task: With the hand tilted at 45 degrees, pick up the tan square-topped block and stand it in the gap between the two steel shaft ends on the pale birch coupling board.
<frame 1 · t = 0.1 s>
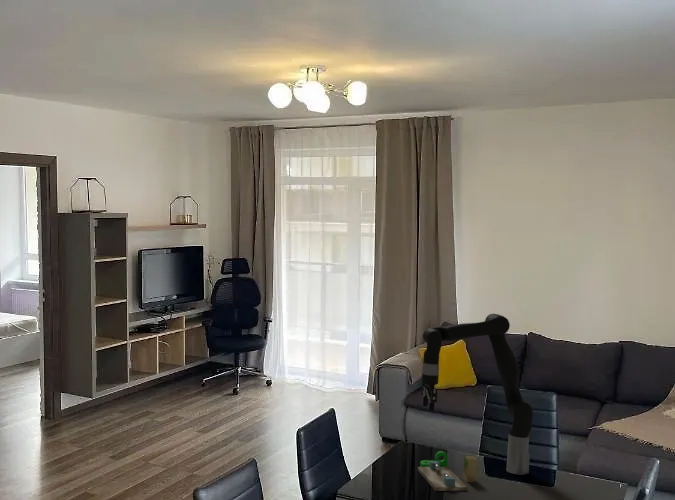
hand: (428, 408, 306), 29 cm above the table, tool pointing down, fingers open, 8 cm apart
tan square-topped block: (469, 480, 300), on the table
mechanical part: (433, 467, 315), on the table
coupling board: (441, 479, 298), on the table
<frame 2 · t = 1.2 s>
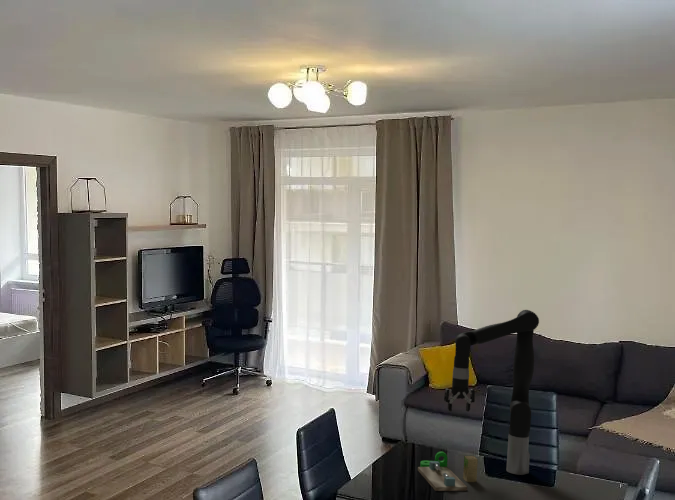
hand: (458, 411, 317), 26 cm above the table, tool pointing down, fingers open, 8 cm apart
nothing on the table moved.
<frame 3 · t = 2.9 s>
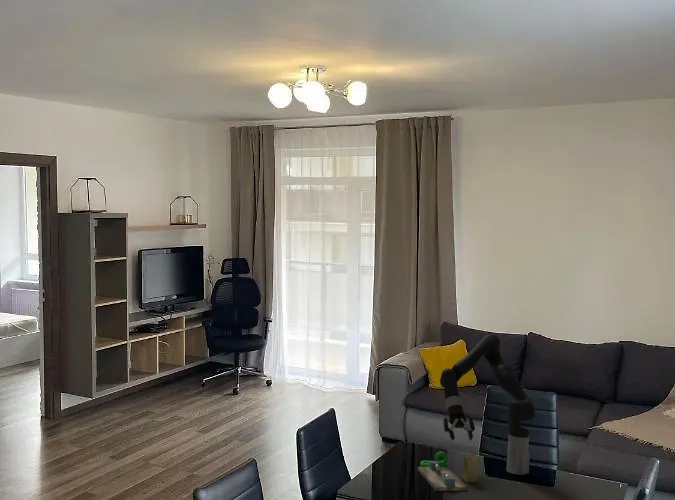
hand: (462, 439, 311), 15 cm above the table, tool tilted 45°, fingers open, 8 cm apart
nothing on the table moved.
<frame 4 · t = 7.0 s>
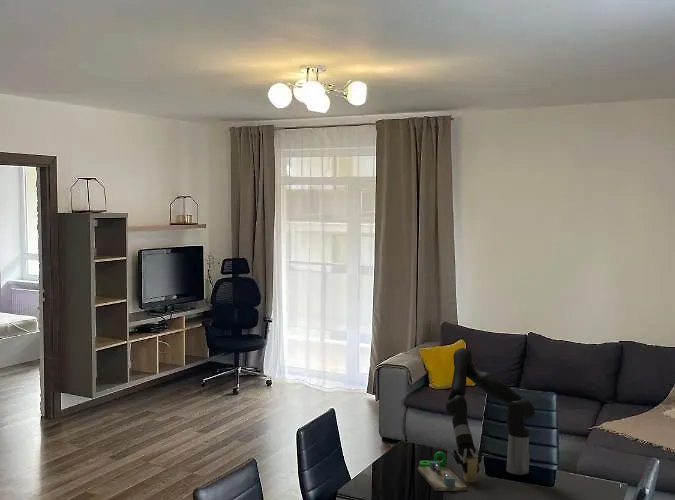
hand: (471, 472, 298), 4 cm above the table, tool tilted 45°, fingers closed on tan square-topped block, 4 cm apart
tan square-topped block: (469, 480, 300), on the table, touching gripper
mechanical part: (432, 467, 315), on the table, touching coupling board
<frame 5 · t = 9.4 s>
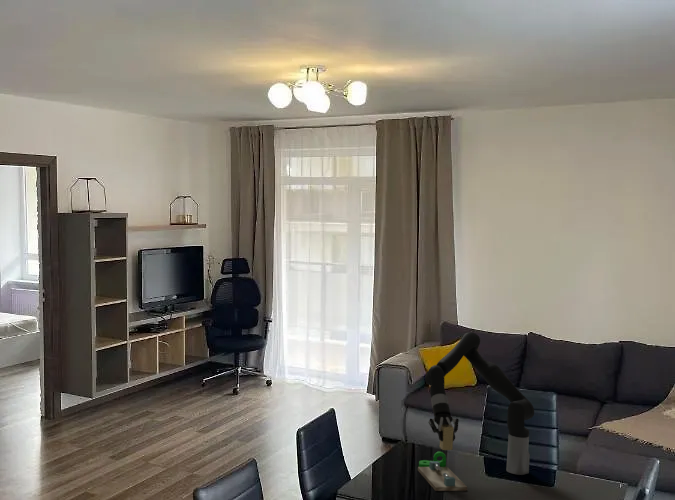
hand: (447, 440, 297), 18 cm above the table, tool tilted 45°, fingers closed on tan square-topped block, 4 cm apart
tan square-topped block: (445, 448, 299), point 14 cm above the table, touching gripper
mechanical part: (431, 467, 315), on the table
when the fingers open (7 cm above the table, at t = 12.2 s): tan square-topped block stays where it is, resting on coupling board.
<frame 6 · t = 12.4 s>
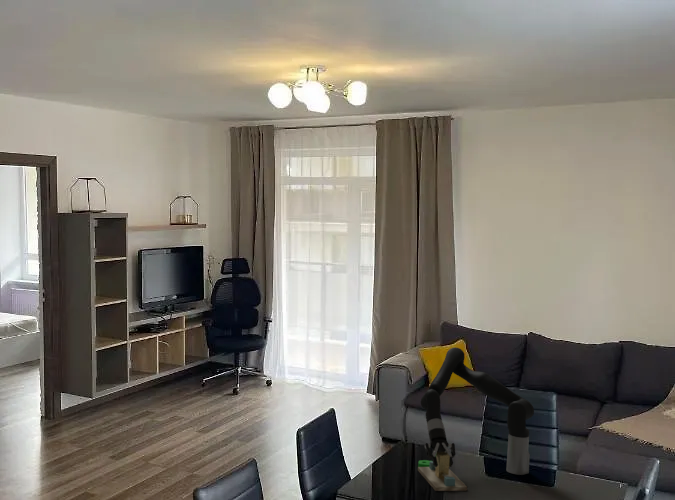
hand: (443, 465, 296), 7 cm above the table, tool tilted 45°, fingers open, 6 cm apart
tan square-topped block: (441, 476, 298), point 1 cm above the table, touching coupling board
mechanical part: (431, 467, 315), on the table, touching coupling board
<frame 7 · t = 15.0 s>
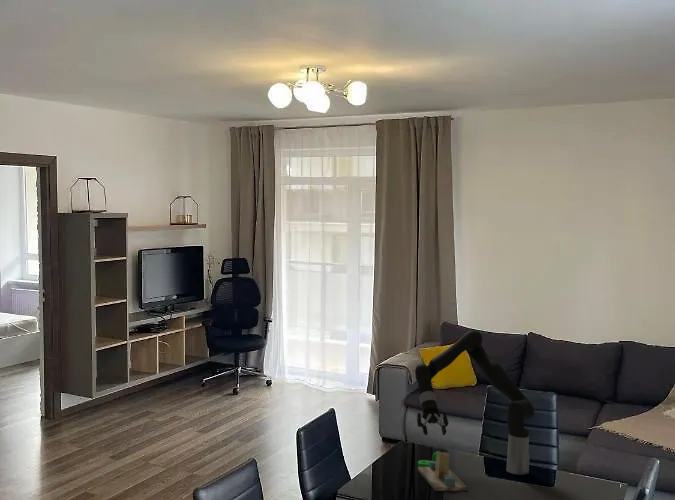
hand: (435, 434, 309), 17 cm above the table, tool tilted 45°, fingers open, 8 cm apart
mechanical part: (430, 467, 315), on the table
everything else where it was.
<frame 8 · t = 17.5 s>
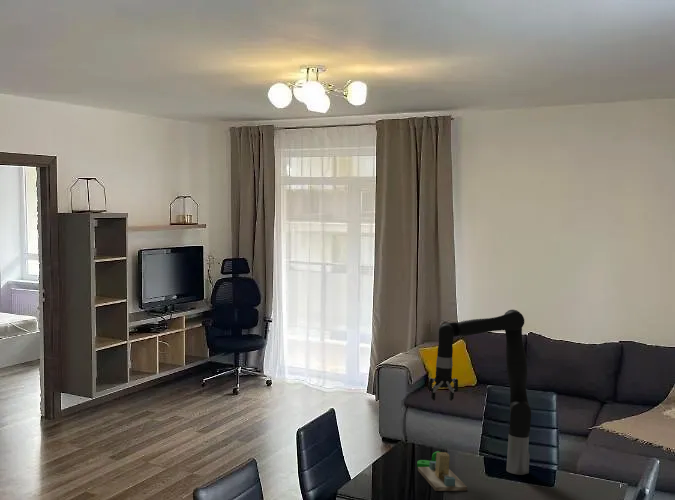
hand: (442, 400, 319), 30 cm above the table, tool pointing down, fingers open, 8 cm apart
nothing on the table moved.
at the end: tan square-topped block 0.1 cm off-centre on the coupling board, point 1.5 cm above the coupling board's base; tan square-topped block tilted 0°; the gripper is holding nothing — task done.
